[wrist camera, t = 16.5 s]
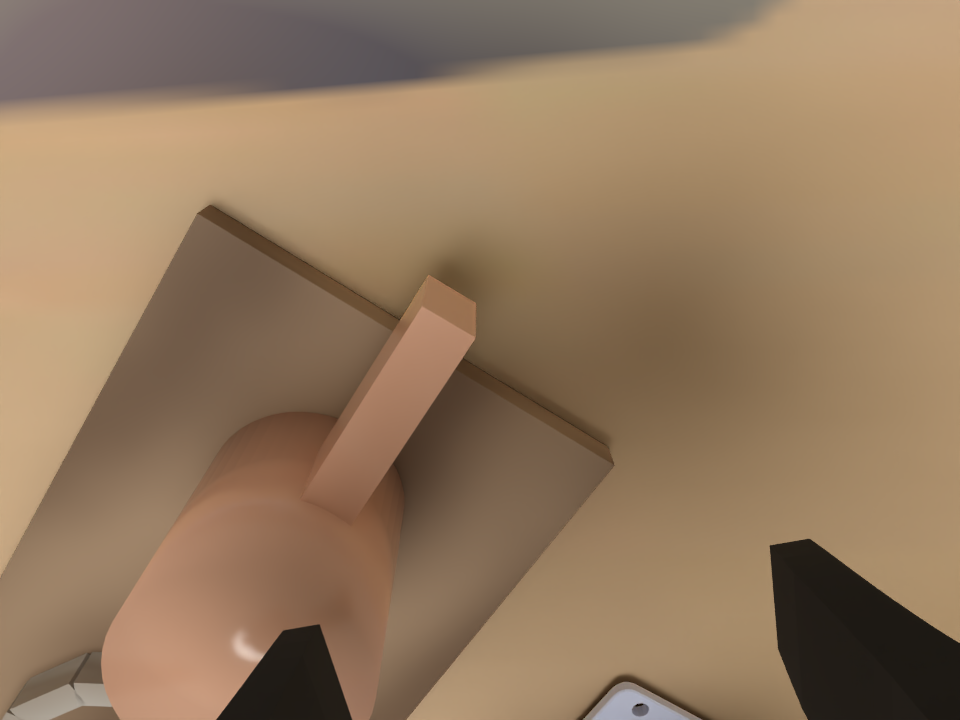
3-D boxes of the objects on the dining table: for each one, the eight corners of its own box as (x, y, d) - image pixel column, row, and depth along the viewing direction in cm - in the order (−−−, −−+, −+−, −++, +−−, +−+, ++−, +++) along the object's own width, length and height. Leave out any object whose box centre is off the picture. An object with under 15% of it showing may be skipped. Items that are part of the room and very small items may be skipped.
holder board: (608, 447, 22) (622, 489, 20) (234, 909, 29) (217, 975, 27) (210, 205, 20) (180, 225, 18) (-100, 773, 26) (-147, 835, 24)
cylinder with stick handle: (345, 611, 23) (298, 818, 17) (174, 527, 22) (59, 715, 16) (546, 322, 20) (576, 448, 14) (357, 208, 19) (301, 289, 13)
